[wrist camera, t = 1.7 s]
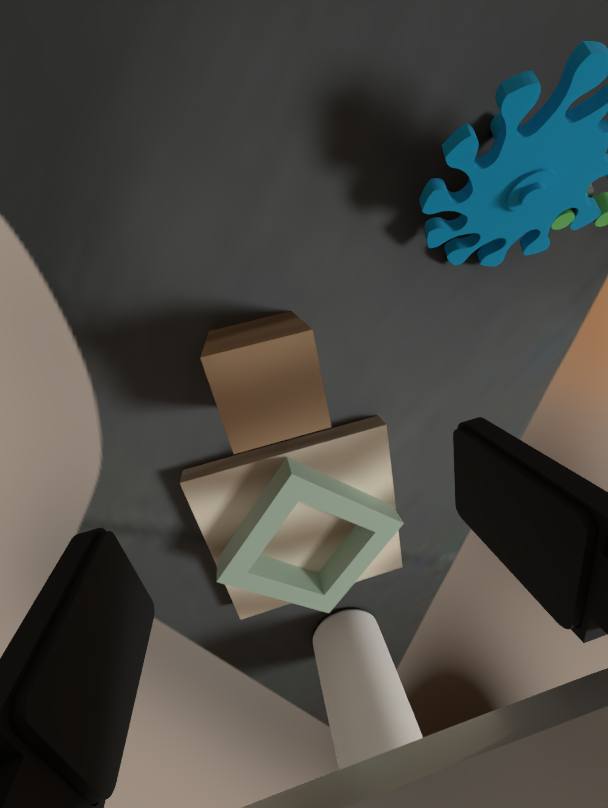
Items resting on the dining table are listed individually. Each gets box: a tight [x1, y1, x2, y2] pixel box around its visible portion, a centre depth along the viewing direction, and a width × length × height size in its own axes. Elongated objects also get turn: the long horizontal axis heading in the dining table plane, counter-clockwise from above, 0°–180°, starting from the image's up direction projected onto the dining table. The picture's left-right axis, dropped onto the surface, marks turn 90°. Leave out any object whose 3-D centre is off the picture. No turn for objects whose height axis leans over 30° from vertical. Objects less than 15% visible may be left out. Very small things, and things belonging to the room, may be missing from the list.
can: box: [313, 609, 423, 770], centre depth 28 cm, size 6×6×12 cm
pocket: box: [217, 457, 404, 613], centre depth 24 cm, size 10×10×2 cm
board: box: [180, 416, 402, 619], centre depth 26 cm, size 14×14×2 cm
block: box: [200, 311, 331, 454], centre depth 18 cm, size 5×5×6 cm
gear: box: [419, 41, 608, 266], centre depth 17 cm, size 11×6×10 cm
